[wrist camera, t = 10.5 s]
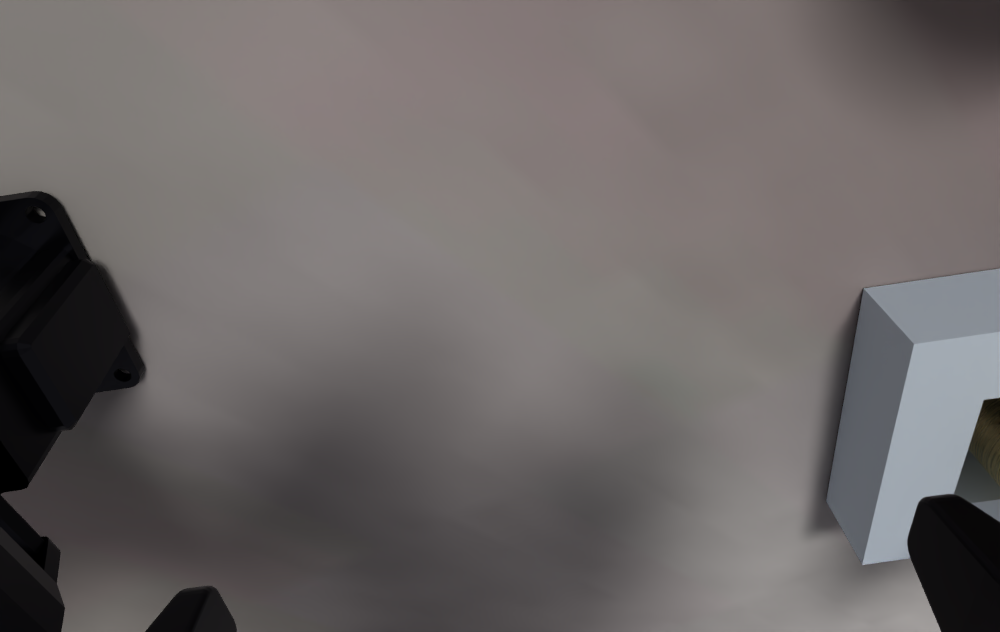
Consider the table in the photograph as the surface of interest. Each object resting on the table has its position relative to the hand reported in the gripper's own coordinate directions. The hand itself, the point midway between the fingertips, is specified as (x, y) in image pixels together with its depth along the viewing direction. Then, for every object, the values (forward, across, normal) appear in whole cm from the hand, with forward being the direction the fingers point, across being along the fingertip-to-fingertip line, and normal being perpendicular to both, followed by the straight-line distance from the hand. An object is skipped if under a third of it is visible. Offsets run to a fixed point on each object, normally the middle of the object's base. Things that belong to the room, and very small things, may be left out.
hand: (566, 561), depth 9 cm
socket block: (+13, -16, +11) cm, 23 cm away
